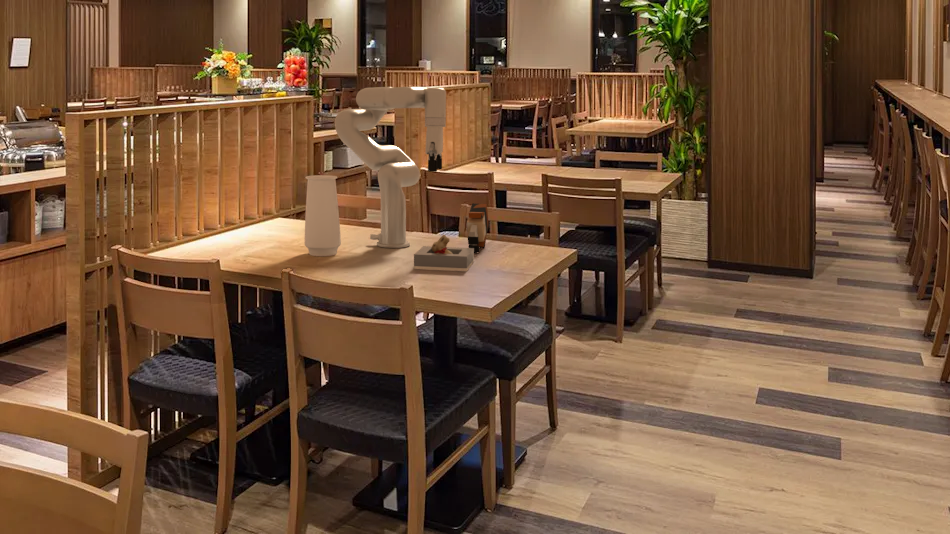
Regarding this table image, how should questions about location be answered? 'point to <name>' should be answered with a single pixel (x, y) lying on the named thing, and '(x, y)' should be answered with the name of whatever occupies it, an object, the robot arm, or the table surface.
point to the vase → (322, 216)
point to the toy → (477, 226)
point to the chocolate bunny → (441, 246)
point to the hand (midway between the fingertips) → (435, 170)
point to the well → (444, 259)
